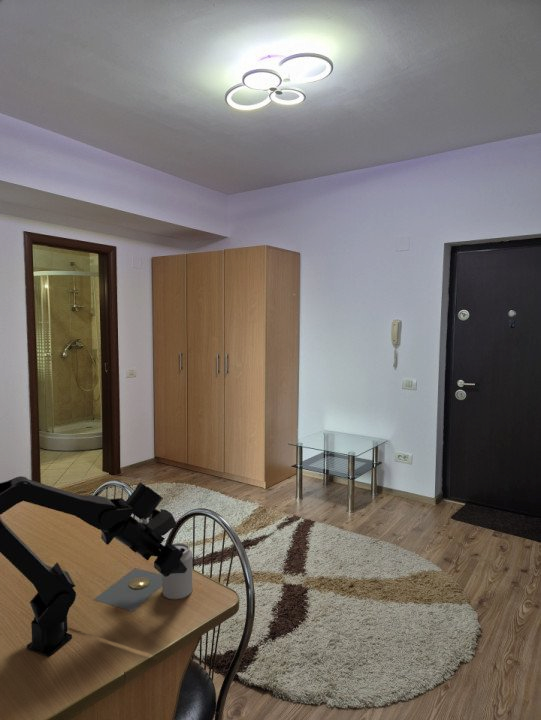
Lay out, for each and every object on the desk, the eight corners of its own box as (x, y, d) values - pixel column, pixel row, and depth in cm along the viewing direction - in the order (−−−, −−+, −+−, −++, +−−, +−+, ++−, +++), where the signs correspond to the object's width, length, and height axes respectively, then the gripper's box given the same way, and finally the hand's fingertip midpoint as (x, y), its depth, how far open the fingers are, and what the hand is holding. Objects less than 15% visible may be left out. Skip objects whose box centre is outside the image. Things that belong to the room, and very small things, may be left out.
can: (186, 604, 115) (185, 556, 114) (157, 600, 116) (156, 553, 115) (196, 587, 122) (196, 542, 121) (169, 583, 123) (169, 539, 122)
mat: (133, 613, 111) (133, 611, 111) (93, 602, 115) (93, 599, 115) (172, 579, 126) (172, 577, 125) (135, 569, 130) (135, 567, 130)
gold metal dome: (141, 591, 119) (141, 589, 119) (124, 586, 121) (124, 585, 121) (153, 580, 124) (153, 579, 124) (137, 576, 125) (137, 575, 125)
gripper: (174, 516, 106) (216, 548, 114) (138, 493, 120) (177, 522, 128) (142, 561, 102) (188, 591, 110) (109, 531, 116) (151, 559, 124)
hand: (176, 563), depth 118 cm, fingers open, 9 cm apart
